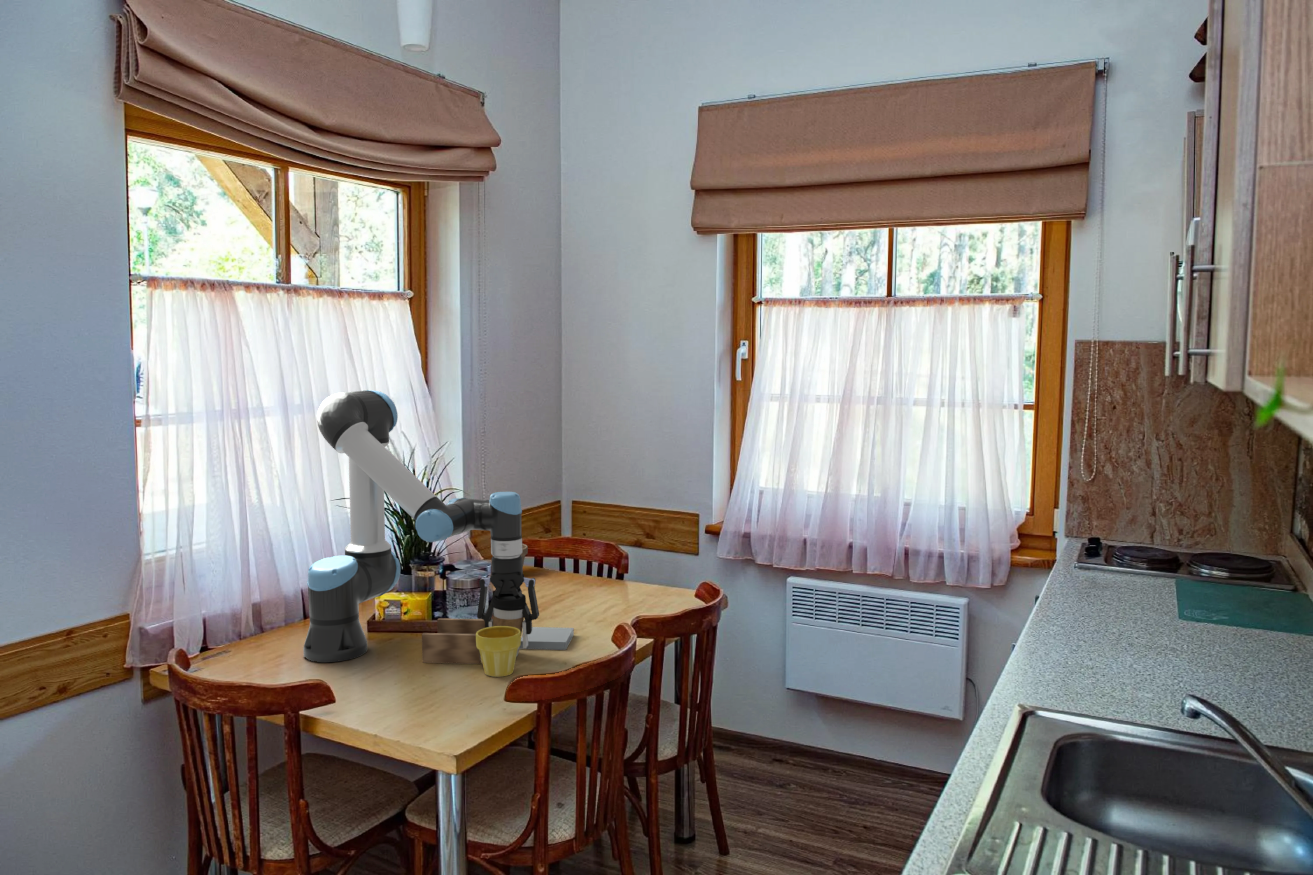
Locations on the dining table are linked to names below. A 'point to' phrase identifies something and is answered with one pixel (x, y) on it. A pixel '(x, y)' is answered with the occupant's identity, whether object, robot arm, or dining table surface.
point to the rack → (453, 642)
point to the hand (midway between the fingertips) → (508, 646)
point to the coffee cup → (508, 611)
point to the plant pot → (498, 649)
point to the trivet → (549, 638)
